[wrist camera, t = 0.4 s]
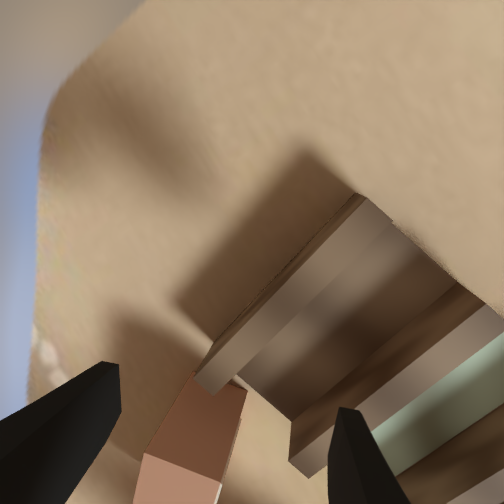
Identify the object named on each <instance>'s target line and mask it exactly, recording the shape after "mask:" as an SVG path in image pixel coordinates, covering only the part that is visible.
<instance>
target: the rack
mask: <svg viewBox="0 0 504 504" xmlns="http://www.w3.org/2000/svg"><path fill="white" fill-rule="evenodd" d="M392 221H393V220H392V219H391V218H389V217H388V216H387V215H386V214H385V213H384V212H383V211H382V210H380V209H379V208H378V207H377V206H376V205H375V204H374V203H373V202H371V201H370V200H369V199H368V198H367V197H364V196H362V195H360V194H358V193H355V194H354V195H353V196H352V197H351V198H350V199H349V200H348V201H347V203H346V204H345V205H344V206H343V207H342V208H341V209H340V210H339V211H338V212H337V213H336V214H335V215H334V216H333V217H332V218H331V219H330V220H329V222H328V223H327V224H326V225H325V226H324V227H323V228H322V229H321V230H320V231H319V232H318V233H317V234H316V235H315V236H314V237H313V238H312V239H311V241H310V242H309V243H308V244H307V245H306V246H305V247H304V248H303V249H302V250H301V251H300V252H299V253H298V254H297V255H296V256H295V257H294V258H293V260H292V261H291V262H290V263H289V264H288V265H287V266H286V267H285V268H284V269H283V270H282V271H281V272H280V273H279V274H278V275H277V276H276V277H275V279H274V280H273V281H272V282H271V283H270V284H269V285H268V286H267V287H266V288H265V289H264V290H263V291H262V292H261V293H260V294H259V295H258V296H257V297H256V299H255V300H254V301H253V302H252V303H251V304H250V305H249V306H248V307H247V308H246V309H245V310H244V311H243V312H242V313H241V314H240V315H239V316H238V318H237V319H236V320H235V321H234V322H233V323H232V324H231V325H230V326H229V327H228V328H227V329H226V330H225V331H224V332H223V333H222V334H221V335H220V337H219V338H218V339H217V340H216V341H215V342H214V343H213V345H212V346H211V348H210V350H209V352H208V353H207V355H206V357H205V358H204V360H203V362H202V363H201V365H200V367H199V369H198V370H197V372H196V374H195V375H194V377H193V379H194V380H195V381H196V382H197V383H198V384H200V385H201V386H202V387H203V388H204V389H205V390H206V391H208V392H209V393H210V394H211V395H212V396H214V395H215V394H216V393H217V392H218V391H219V390H220V389H221V388H222V387H223V386H224V385H225V384H226V383H227V382H228V381H230V380H231V379H232V378H233V377H234V376H235V375H236V374H237V375H238V376H239V377H240V378H242V379H243V380H244V381H245V382H246V383H247V384H248V385H250V386H251V387H252V388H253V389H254V390H255V391H257V392H258V393H259V394H260V395H261V396H262V397H263V398H265V399H266V400H267V401H268V402H269V403H270V404H272V405H273V406H274V407H275V408H276V409H277V410H278V411H280V412H281V413H282V414H283V415H284V416H285V417H286V418H288V419H289V420H290V421H291V422H292V423H291V435H290V446H289V458H288V461H289V462H290V463H291V464H292V465H293V466H294V467H295V468H297V469H298V470H299V471H300V472H301V473H302V474H304V475H305V476H306V477H307V478H308V479H309V478H310V477H312V476H313V475H314V474H315V473H317V472H318V471H319V470H321V469H322V468H323V467H325V466H326V465H327V464H328V451H329V447H330V443H331V438H332V434H333V430H334V426H335V421H336V417H337V413H338V409H339V407H345V408H350V409H355V410H360V412H361V413H362V415H363V417H364V419H365V421H366V423H367V425H368V427H369V429H370V431H371V433H372V435H373V437H374V439H375V441H376V443H377V445H378V447H379V449H380V450H381V452H382V454H383V456H384V458H385V460H386V461H387V463H388V465H389V467H390V469H391V470H392V472H393V474H394V475H395V477H396V479H397V481H398V482H399V484H400V486H401V488H402V489H403V491H404V493H405V494H406V496H407V498H408V499H409V501H410V503H411V504H504V319H503V318H502V317H501V316H499V315H498V314H497V313H496V312H495V311H494V310H493V309H492V308H490V307H489V306H488V305H487V304H486V303H485V302H483V301H482V300H481V299H479V298H478V297H477V296H475V295H474V294H473V293H471V292H470V291H469V290H467V289H466V288H465V287H463V286H462V285H461V284H459V283H458V282H457V281H456V280H455V279H454V278H452V277H451V276H450V275H449V274H448V273H447V272H446V271H445V270H443V269H442V268H441V267H440V266H439V265H438V264H437V263H436V262H434V261H433V260H432V259H431V258H430V257H429V256H428V255H427V254H426V253H424V252H423V251H422V250H421V249H420V248H419V247H418V246H417V245H415V244H414V243H413V242H412V241H411V240H410V239H409V238H408V237H406V236H405V235H404V234H403V233H402V232H401V231H400V230H399V229H397V228H396V227H395V226H394V225H393V224H392V223H391V222H392Z"/></svg>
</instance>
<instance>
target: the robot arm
mask: <svg viewBox="0 0 504 504" xmlns="http://www.w3.org/2000/svg"><path fill="white" fill-rule="evenodd" d="M120 414H121V394H120V377H119V364H115V363H109V362H104V361H101V362H99V363H97V364H96V365H94V366H92V367H91V368H89V369H87V370H86V371H84V372H82V373H81V374H79V375H78V376H76V377H74V378H73V379H71V380H69V381H68V382H66V383H65V384H63V385H61V386H60V387H58V388H56V389H55V390H53V391H51V392H50V393H48V394H46V395H45V396H43V397H41V398H40V399H38V400H36V401H35V402H33V403H31V404H29V405H28V406H26V407H24V408H22V409H21V410H19V411H17V412H15V413H13V414H11V415H10V416H8V417H6V418H4V419H3V420H1V421H0V504H65V502H66V501H67V500H68V498H69V497H70V495H71V494H72V492H73V491H74V489H75V488H76V486H77V485H78V483H79V482H80V480H81V479H82V477H83V476H84V474H85V473H86V471H87V470H88V468H89V467H90V465H91V464H92V462H93V461H94V459H95V458H96V456H97V455H98V453H99V452H100V450H101V449H102V447H103V446H104V444H105V443H106V441H107V439H108V437H109V435H110V433H111V432H112V430H113V428H114V426H115V424H116V422H117V420H118V418H119V416H120ZM328 499H329V504H411V503H410V501H409V499H408V498H407V496H406V494H405V493H404V491H403V489H402V488H401V486H400V484H399V482H398V481H397V479H396V477H395V475H394V474H393V472H392V470H391V469H390V467H389V465H388V463H387V461H386V460H385V458H384V456H383V454H382V452H381V450H380V449H379V447H378V445H377V443H376V441H375V439H374V437H373V435H372V433H371V431H370V429H369V427H368V425H367V423H366V421H365V419H364V417H363V415H362V413H361V412H360V410H355V409H350V408H345V407H339V409H338V413H337V417H336V421H335V426H334V430H333V434H332V438H331V443H330V447H329V451H328Z"/></svg>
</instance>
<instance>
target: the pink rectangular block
mask: <svg viewBox="0 0 504 504" xmlns="http://www.w3.org/2000/svg"><path fill="white" fill-rule="evenodd" d="M195 374H196V372H194V371H193V372H192V374H191V375H190V377H189V379H188V380H187V382H186V384H185V385H184V387H183V389H182V390H181V392H180V394H179V395H178V397H177V398H176V400H175V402H174V403H173V405H172V407H171V408H170V410H169V412H168V413H167V415H166V417H165V418H164V420H163V422H162V423H161V425H160V427H159V428H158V430H157V432H156V433H155V435H154V437H153V438H152V440H151V442H150V443H149V445H148V447H147V448H146V450H145V452H144V454H143V459H142V463H141V468H140V472H139V477H138V481H137V486H136V490H135V495H134V499H133V504H217V501H218V497H219V494H220V491H221V488H222V485H223V482H224V478H225V475H226V471H227V468H228V464H229V461H230V457H231V454H232V450H233V447H234V443H235V440H236V437H237V433H238V430H239V426H240V423H241V418H240V416H241V412H242V409H243V405H244V402H245V399H246V395H247V392H248V391H247V390H244V389H241V388H238V387H236V386H233V385H230V384H227V383H226V384H225V385H224V386H223V387H222V388H221V389H220V390H219V391H218V392H217V393H216V394H215V395H214V396H212V395H211V394H210V393H209V392H208V391H206V390H205V389H204V388H203V387H202V386H201V385H200V384H198V383H197V382H196V381H195V380H194V379H193V377H194V375H195Z"/></svg>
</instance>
